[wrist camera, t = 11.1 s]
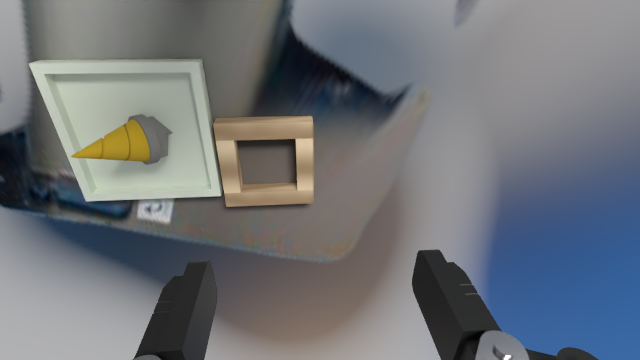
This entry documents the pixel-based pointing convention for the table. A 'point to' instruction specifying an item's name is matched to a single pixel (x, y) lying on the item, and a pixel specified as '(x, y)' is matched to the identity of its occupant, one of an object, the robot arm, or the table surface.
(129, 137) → the yellow cone
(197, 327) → the robot arm
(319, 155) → the table surface
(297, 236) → the table surface
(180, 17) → the table surface
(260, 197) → the square wooden frame
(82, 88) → the tray
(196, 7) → the table surface
